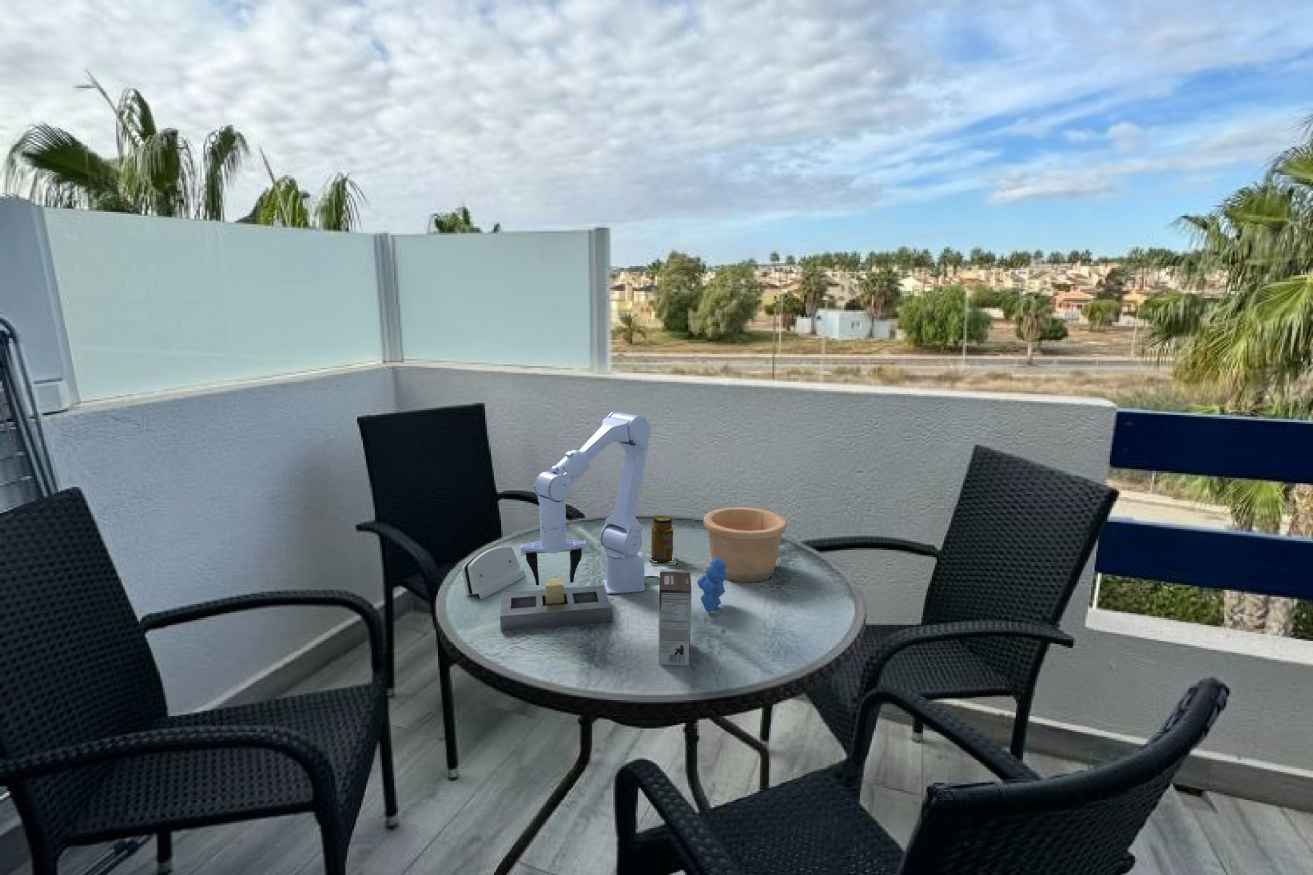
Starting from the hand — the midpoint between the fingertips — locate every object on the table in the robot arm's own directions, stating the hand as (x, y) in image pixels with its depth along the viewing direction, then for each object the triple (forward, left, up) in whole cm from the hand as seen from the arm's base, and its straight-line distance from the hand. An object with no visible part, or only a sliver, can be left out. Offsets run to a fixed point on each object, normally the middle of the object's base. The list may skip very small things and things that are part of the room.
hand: (554, 582), depth 149 cm
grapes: (-36, +3, -8) cm, 37 cm away
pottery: (-51, -17, -8) cm, 54 cm away
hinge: (+15, -20, -8) cm, 26 cm away
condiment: (-31, -28, -8) cm, 42 cm away
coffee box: (-23, +22, -8) cm, 33 cm away
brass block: (0, 0, -8) cm, 8 cm away
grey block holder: (0, 0, -8) cm, 8 cm away
